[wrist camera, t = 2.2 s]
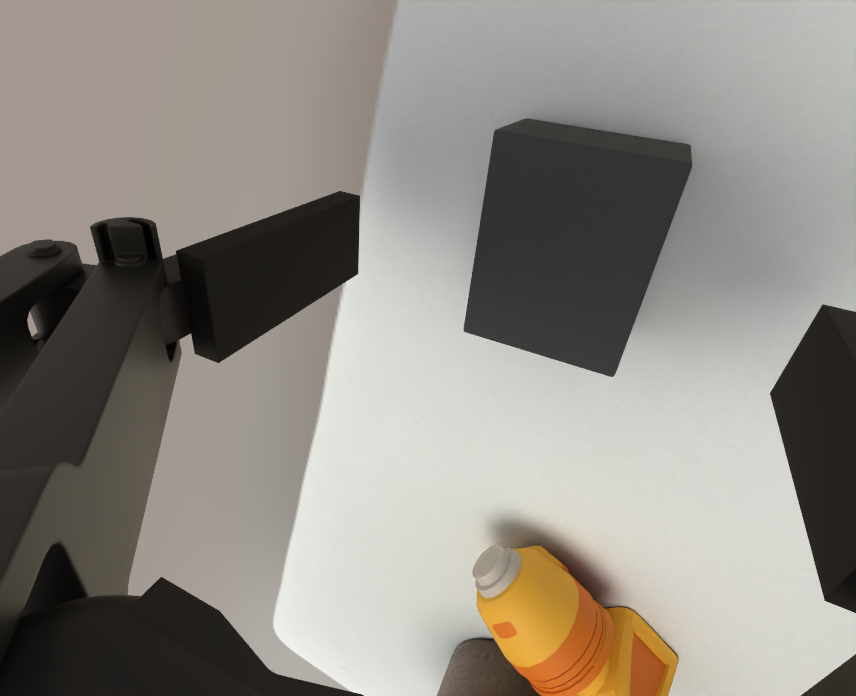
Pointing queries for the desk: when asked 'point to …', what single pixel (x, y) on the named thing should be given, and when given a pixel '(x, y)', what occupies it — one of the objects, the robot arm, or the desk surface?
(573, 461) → the desk surface
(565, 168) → the dark grey rectangular block
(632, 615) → the yellow toy drill
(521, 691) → the pillar candle
